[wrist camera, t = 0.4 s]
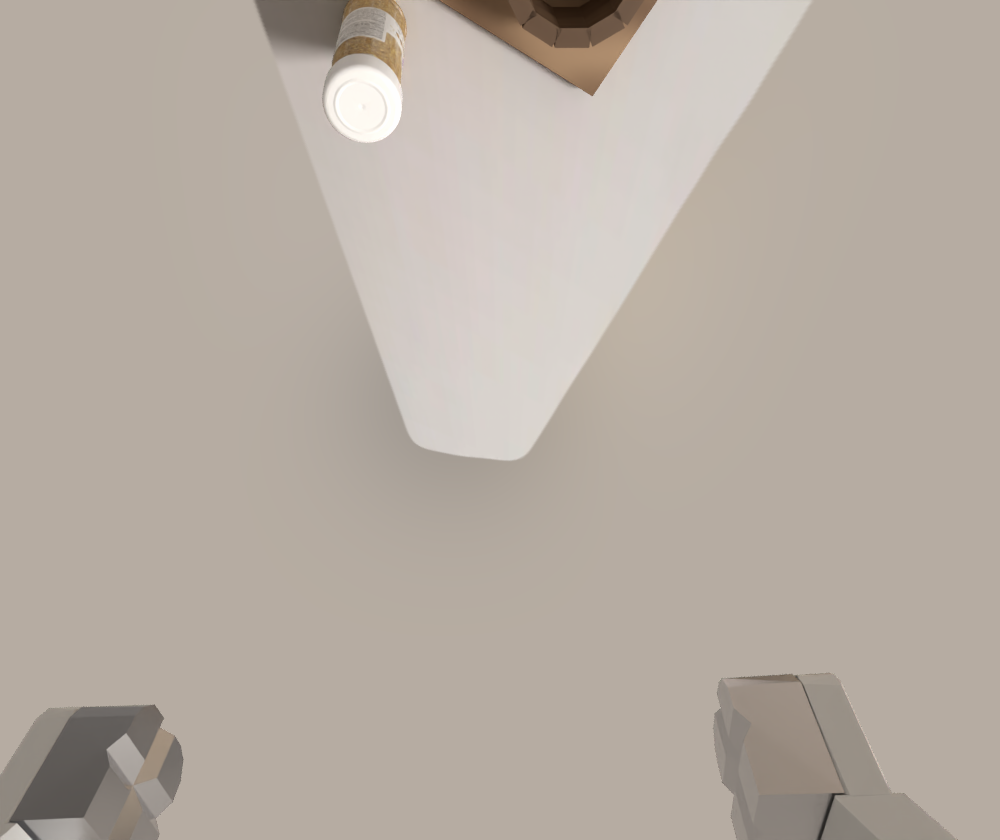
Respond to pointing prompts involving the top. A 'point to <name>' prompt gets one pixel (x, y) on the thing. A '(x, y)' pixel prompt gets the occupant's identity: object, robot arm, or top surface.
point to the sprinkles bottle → (367, 71)
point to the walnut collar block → (562, 32)
